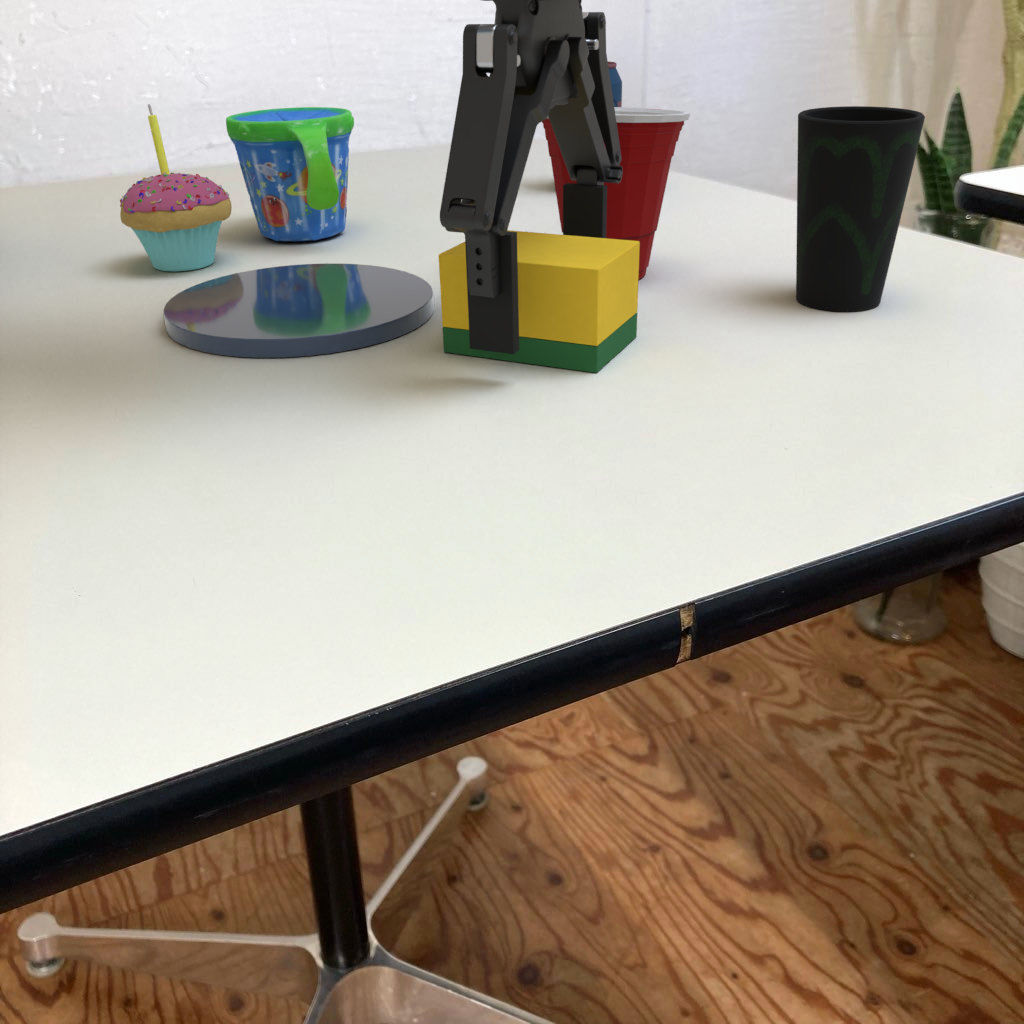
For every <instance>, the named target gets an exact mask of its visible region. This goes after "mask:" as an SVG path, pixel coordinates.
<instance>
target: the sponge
mask: <svg viewBox="0 0 1024 1024" xmlns="http://www.w3.org/2000/svg"><path fill="white" fill-rule="evenodd" d="M507 231H510V232H517V262H518V312H519V351H518V352H516V353H515V354H507V353H499V352H492V351H484V350H477V349H470V340H469V317H468V294H467V270H466V247H465V241H463V242H461V243H459V244H456V245H455V246H452V247H451V248H449V249H447V250H445V251H443V252H441V253H438V271H439V288H440V305H441V308H440V309H441V323H442V325H441V326H442V342H443V343H442V345H443V352H444V353H448V354H456V355H462V356H471V357H478V358H485V359H493V360H500V361H507V362H514V363H522V364H530V365H537V366H544V367H551V368H557V369H566V370H573V371H580V372H587V373H595V374H597V373H598V372H600V371H601V370H602V369H603V368H604V367H605V366H606V365H607V364H608V363H610V361H612V360H613V359H614V358H615V357H616V356H618V355H619V353H620V352H622V351H623V350H624V349H625V348H626V347H627V346H628V345H629V344H630V343H631V342H633V341H634V340H635V339H636V338H637V336H638V333H637V332H638V303H639V302H638V301H639V279H638V277H639V248H640V242H639V241H631V240H619V239H607V238H595V237H583V236H571V235H563V234H559V233H558V234H557V233H548V232H547V233H546V232H534V231H533V232H532V231H522V230H521V231H520V230H509V229H508V230H507Z"/></svg>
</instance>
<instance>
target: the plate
mask: <svg viewBox="0 0 1024 1024" xmlns="http://www.w3.org/2000/svg"><path fill="white" fill-rule="evenodd" d="M434 303H435V299H434V290H433V287H432V286H431V284H430V283H429V282H428V281H426V280H425V279H424V278H423V277H420V276H418V275H416V274H414V273H411V272H408V271H404V270H400V269H398V268H397V269H396V268H392V267H385V266H380V265H372V264H359V263H357V264H356V263H305V264H303V263H302V264H290V265H281V266H272V267H264V268H258V269H252V270H246V271H241V272H237V273H236V272H235V273H232V274H228V275H223V276H219V277H216V278H213V279H209V280H206V281H203V282H201V283H197V284H195V285H193V286H190V287H187V288H185V289H183V290H182V291H180V292H177V294H175V295H174V296H173V297H170V299H169V300H168V301H167V302H166V303H165V305H164V307H163V309H162V316H163V319H164V320H163V321H164V326H165V332H166V333H167V335H168V336H169V338H171V340H173V341H174V342H175V343H178V344H179V345H181V346H183V347H186V348H189V349H191V350H195V351H198V352H203V353H206V354H212V355H217V356H227V357H235V358H251V359H252V358H253V359H279V358H280V359H283V358H300V357H311V356H312V357H313V356H319V355H320V356H321V355H329V354H335V353H341V352H347V351H353V350H358V349H362V348H366V347H371V346H374V345H377V344H381V343H385V342H387V341H388V342H389V341H391V340H394V339H396V338H400V337H402V336H404V335H407V334H408V333H410V332H412V331H414V330H417V329H418V328H419V327H421V326H423V325H424V324H425V323H426V322H428V320H430V318H431V317H432V315H433V314H434V310H435V304H434Z"/></svg>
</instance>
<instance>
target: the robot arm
mask: <svg viewBox="0 0 1024 1024" xmlns="http://www.w3.org/2000/svg"><path fill="white" fill-rule="evenodd" d="M481 1H483V2H490V1H492V2H493V3H494V5H495V13H494V14H495V15H494V23H467V24H465V26H464V29H463V31H462V76H461V83H460V88H459V92H458V93H459V94H458V100H457V106H456V111H455V119H454V125H453V129H452V135H451V143H450V148H449V154H448V159H447V167H446V173H445V179H444V185H443V191H442V197H441V203H440V209H439V222H440V224H441V226H442V228H444V229H445V230H446V232H449V233H459V234H461V233H462V234H464V242H465V247H466V270H467V294H468V317H469V340H470V349H477V350H484V351H492V352H499V353H507V354H515V353H516V352H518V351H519V312H518V262H517V232H510V231H511V230H510V231H507V230H509V226H510V222H511V219H512V216H513V212H514V208H515V205H516V200H517V198H518V194H519V191H520V186H521V184H522V180H523V176H524V173H525V169H526V166H527V161H528V158H529V154H530V152H531V149H532V145H533V141H534V137H535V134H536V130H537V127H538V125H539V124H540V123H542V121H544V120H545V119H546V118H547V117H549V120H550V123H551V126H552V128H553V131H554V134H555V137H556V140H557V142H558V145H559V148H560V151H561V154H562V157H563V159H564V162H565V165H566V168H567V171H568V173H569V176H570V179H571V180H572V181H576V184H574V183H567V184H565V185H563V233H562V235H571V236H583V237H595V238H606V222H607V186H606V185H604V183H620V182H621V179H622V174H623V168H622V166H619V165H620V163H621V149H620V143H619V136H618V129H617V122H616V115H615V108H614V102H613V95H612V88H611V81H610V74H609V68H608V62H609V61H608V55H607V21H606V15H605V12H604V11H583V6H582V2H583V1H582V0H481ZM488 74H489V76H488ZM604 143H605V144H604ZM605 145H606V147H605Z"/></svg>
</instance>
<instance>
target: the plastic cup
mask: <svg viewBox="0 0 1024 1024" xmlns="http://www.w3.org/2000/svg"><path fill="white" fill-rule="evenodd" d="M614 108H615V115H616V122H617V129H618V136H619V143H620V149H621V163H620V165H619V166H622V168H623V174H622V179H621V182H620V183H604V185H606V186H607V222H606V238H607V239H619V240H631V241H639V242H640V248H639V277H638V280H641V279H643V278H644V277H645V276H646V275H647V269H648V268H649V266H650V261H651V255H652V249H653V244H654V241H655V240H654V239H655V234H656V231H657V230H658V225H659V221H660V216H661V211H662V208H663V207H662V206H663V201H664V196H665V192H666V188H667V182H668V177H669V173H670V167H671V163H672V158H673V157H674V155H675V150H676V146H677V142H678V141H679V140H680V139H679V137H680V135H681V134H680V133H681V131H683V126H684V125H685V121H688V120H689V118H690V115H691V113H690V112H688V111H683V110H682V111H681V110H673V109H661V108H659V109H658V108H645V107H623V106H622V107H614ZM541 123H542V127H543V129H544V134H545V140H546V141H547V149H548V154H549V155H548V156H549V157H550V161H551V169H552V176H553V182H554V189H555V195H556V196H555V197H556V203H557V209H558V215H559V221H560V222H559V223H560V229H561V233H562V234H563V185H565V184H567V183H574V184H576V181H572V180H571V179H570V176H569V173H568V171H567V168H566V165H565V162H564V159H563V157H562V154H561V151H560V148H559V145H558V142H557V140H556V137H555V134H554V131H553V128H552V126H551V123H550V120H549V117H547V118H546V119H545V120H544V121H542V122H541ZM604 144H605V143H604ZM605 147H606V145H605Z"/></svg>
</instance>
